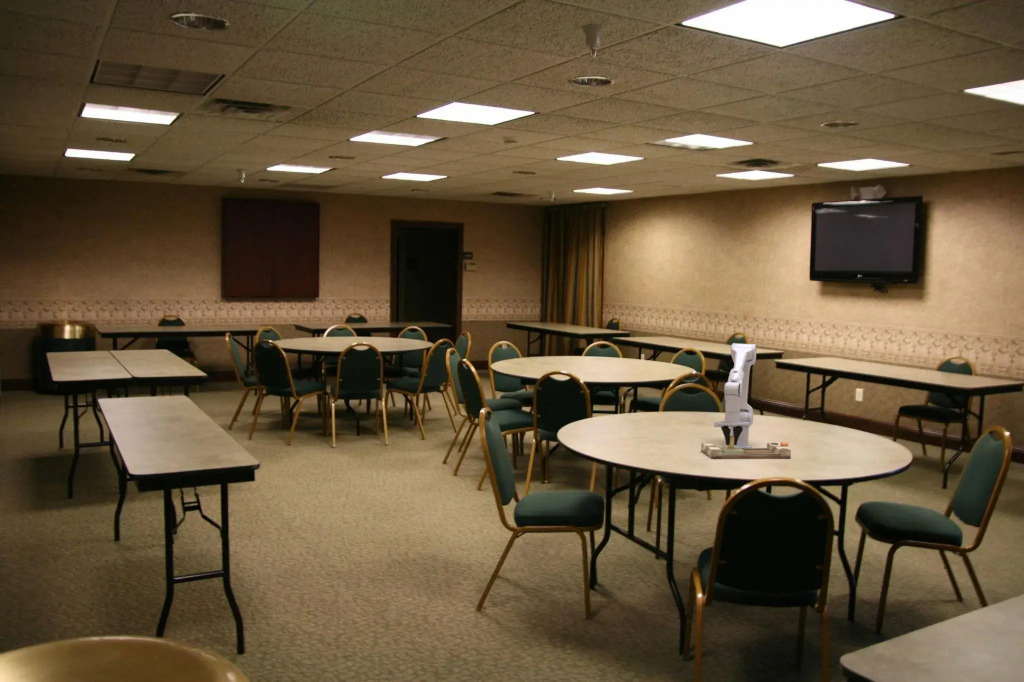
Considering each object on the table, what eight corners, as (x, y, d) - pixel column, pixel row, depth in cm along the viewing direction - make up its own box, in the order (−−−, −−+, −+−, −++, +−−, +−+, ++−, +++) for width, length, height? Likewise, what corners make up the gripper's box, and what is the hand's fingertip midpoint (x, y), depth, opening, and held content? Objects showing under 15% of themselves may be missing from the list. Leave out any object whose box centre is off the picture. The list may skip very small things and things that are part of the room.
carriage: (718, 450, 324) (718, 434, 324) (737, 450, 325) (737, 434, 325) (724, 453, 318) (724, 438, 317) (743, 453, 318) (744, 438, 318)
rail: (701, 451, 328) (701, 442, 327) (776, 451, 330) (776, 442, 330) (712, 458, 314) (712, 449, 313) (790, 458, 316) (791, 449, 316)
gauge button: (778, 444, 319) (779, 442, 319) (786, 445, 319) (786, 442, 319) (782, 446, 316) (782, 443, 316) (789, 446, 316) (789, 443, 316)
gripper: (718, 413, 315) (717, 446, 316) (753, 413, 317) (752, 446, 318) (712, 410, 322) (711, 443, 324) (747, 410, 324) (745, 443, 325)
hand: (731, 444), depth 321 cm, fingers closed on carriage, 2 cm apart
